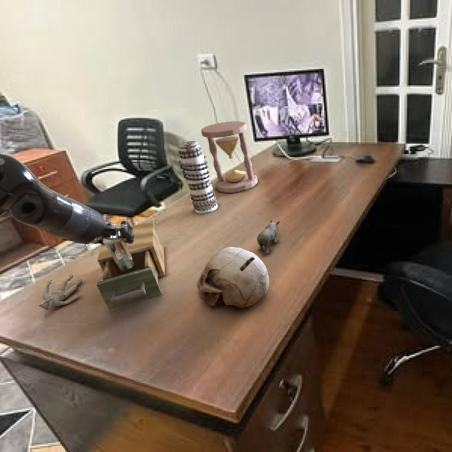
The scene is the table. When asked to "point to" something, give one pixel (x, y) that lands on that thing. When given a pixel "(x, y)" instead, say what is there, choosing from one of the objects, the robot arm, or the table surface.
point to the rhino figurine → (268, 236)
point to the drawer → (130, 281)
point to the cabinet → (140, 246)
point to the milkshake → (119, 253)
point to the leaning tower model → (197, 177)
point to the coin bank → (233, 278)
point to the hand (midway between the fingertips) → (120, 241)
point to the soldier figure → (59, 294)
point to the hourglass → (230, 155)
